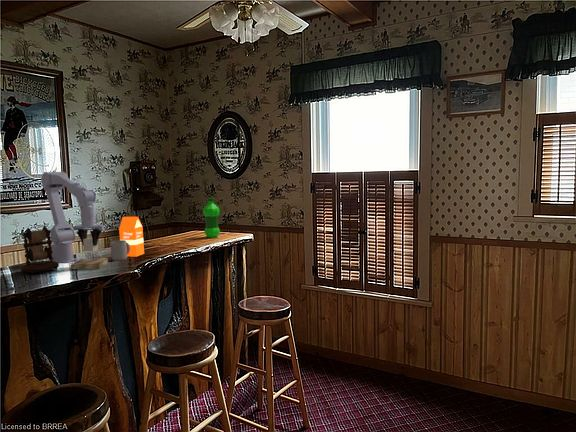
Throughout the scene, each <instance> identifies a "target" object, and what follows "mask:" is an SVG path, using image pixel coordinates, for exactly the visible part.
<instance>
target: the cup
mask: <svg viewBox="0 0 576 432" xmlns="http://www.w3.org/2000/svg"><path fill="white" fill-rule="evenodd" d="M126 247H127V249H126ZM129 252H130V245H129V244H128V243H127V242H126V241H125V240H120V239H118V240H111V241H110V254H111V256H110V257H111V260H112V261H116V262H117V261H125V260H127V259H128V256H127V255H128V254H129Z"/></svg>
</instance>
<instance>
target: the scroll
mask: <svg viewBox="0 0 576 432" xmlns="http://www.w3.org/2000/svg"><path fill="white" fill-rule="evenodd" d="M50 230H51V229H48V228H47V226H45V225H44V226H43V227H42V229H40V230H31V228H30V227H27V228H26V230H25V232H23V233H22V237H23V239H24V240H23V244H22V245H23V249H25V250H24V257H25V264H24V265H23V266H21V267H20V271H21V272H24V273H31V274H32V273H34V274H36V273H37V272H44V271H50V270H53V269H54V270H55V271H58V268H59V266H60V263H57V262H55V261H52V260H53V257H52V253H53V251H52V250H51V249H52V247H51V246H52V245H53V242H52V240H51V231H50ZM44 245H47V246H44Z"/></svg>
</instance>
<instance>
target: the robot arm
mask: <svg viewBox="0 0 576 432" xmlns="http://www.w3.org/2000/svg"><path fill="white" fill-rule="evenodd" d="M40 181H41V184H42V185H41V186H42V187H43V190H44V191H45V194H46V197H47V201H48V204H49V208H50V212H51V216H52V219H53V223H54V225H53V226H52V227H51V229H49V230H50V231H51V233H50V234H51V235H50V237H51V239H50V240H52V244H51V247H52V249H51V250H52V251H53V253H52V257H53V260H52V261H55V262H57V263H59V264H61V263H64V264H65V263H70V262H73V261H78V258H76V257H75V258H74V250H73V243H74V241H75V239H76V236H77V235H78V237H79V239H80V241H81V243H82V246H83V247H84V245H83V239H86V238H88V232H89V231H90V236H91V238H92V241H93V246H96V245H97V242H98V243H99V237H100V235H101V232H102V231H104V230H105V225H99V224H96V219H95V208H94V207H95V205H94V202H95V201H96V199H97V198H96V192H95V191H94V190H93V189H87V188H86V187H84V186H83V185H82V184H81V183H80V182H73V181H72V180H71V178H69V176H68V173H66V172H65V171H51V172H49V171H44V172H43V173H42V175H41V178H40ZM64 187H65V188H67V189H68V192H69V193H70V194H71V195H72V196H74V197H75V198H76V201H77V203H78V208H79V210H80V221H81V225H71V224H69V223H68V222H67V219H66V215H65V213H64V208H63V203H62V201H61V198H60V192H59V191H60V190H62V189H63V188H64ZM76 234H77V235H76Z"/></svg>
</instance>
